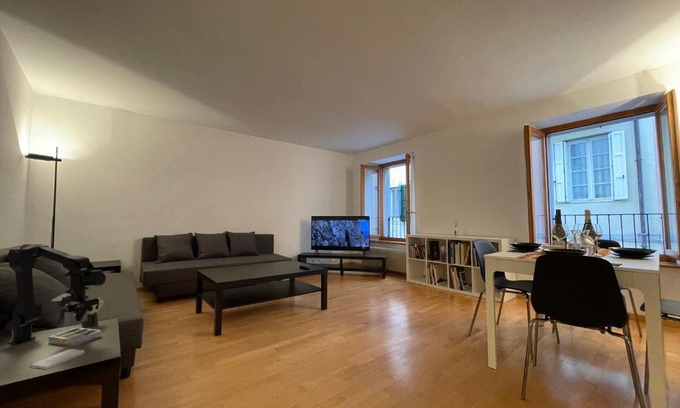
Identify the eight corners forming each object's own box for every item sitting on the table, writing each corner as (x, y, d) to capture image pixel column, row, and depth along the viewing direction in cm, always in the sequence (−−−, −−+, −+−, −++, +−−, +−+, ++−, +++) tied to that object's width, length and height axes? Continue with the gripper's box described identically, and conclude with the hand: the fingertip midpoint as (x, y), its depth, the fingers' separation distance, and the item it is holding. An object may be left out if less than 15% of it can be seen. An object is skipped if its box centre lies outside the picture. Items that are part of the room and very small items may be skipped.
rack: (47, 343, 121) (48, 336, 121) (76, 333, 131) (76, 327, 132) (73, 347, 117) (74, 340, 117) (101, 336, 128) (101, 330, 128)
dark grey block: (64, 325, 122) (64, 311, 122) (82, 320, 129) (82, 306, 129) (69, 326, 121) (70, 312, 121) (87, 320, 128) (88, 307, 128)
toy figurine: (79, 330, 134) (81, 303, 135) (72, 328, 137) (73, 301, 138) (106, 323, 144) (107, 297, 145) (98, 321, 147) (99, 296, 148)
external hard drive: (84, 354, 112) (46, 371, 100) (68, 352, 114) (29, 368, 102) (84, 350, 112) (46, 366, 100) (69, 348, 114) (29, 364, 102)
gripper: (40, 288, 120) (38, 325, 119) (72, 291, 116) (70, 329, 115) (70, 283, 131) (68, 316, 130) (101, 285, 127) (99, 320, 126)
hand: (76, 320), depth 125 cm, fingers closed on dark grey block, 3 cm apart
